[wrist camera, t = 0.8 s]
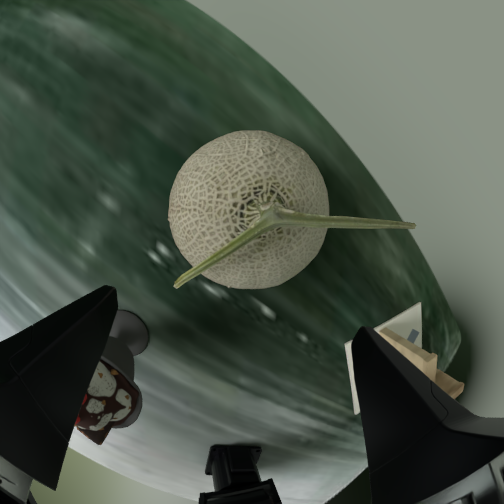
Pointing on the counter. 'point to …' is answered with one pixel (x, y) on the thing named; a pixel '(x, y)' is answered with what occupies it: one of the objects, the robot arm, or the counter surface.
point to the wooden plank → (448, 384)
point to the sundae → (114, 381)
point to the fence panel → (412, 353)
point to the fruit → (253, 211)
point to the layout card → (402, 324)
